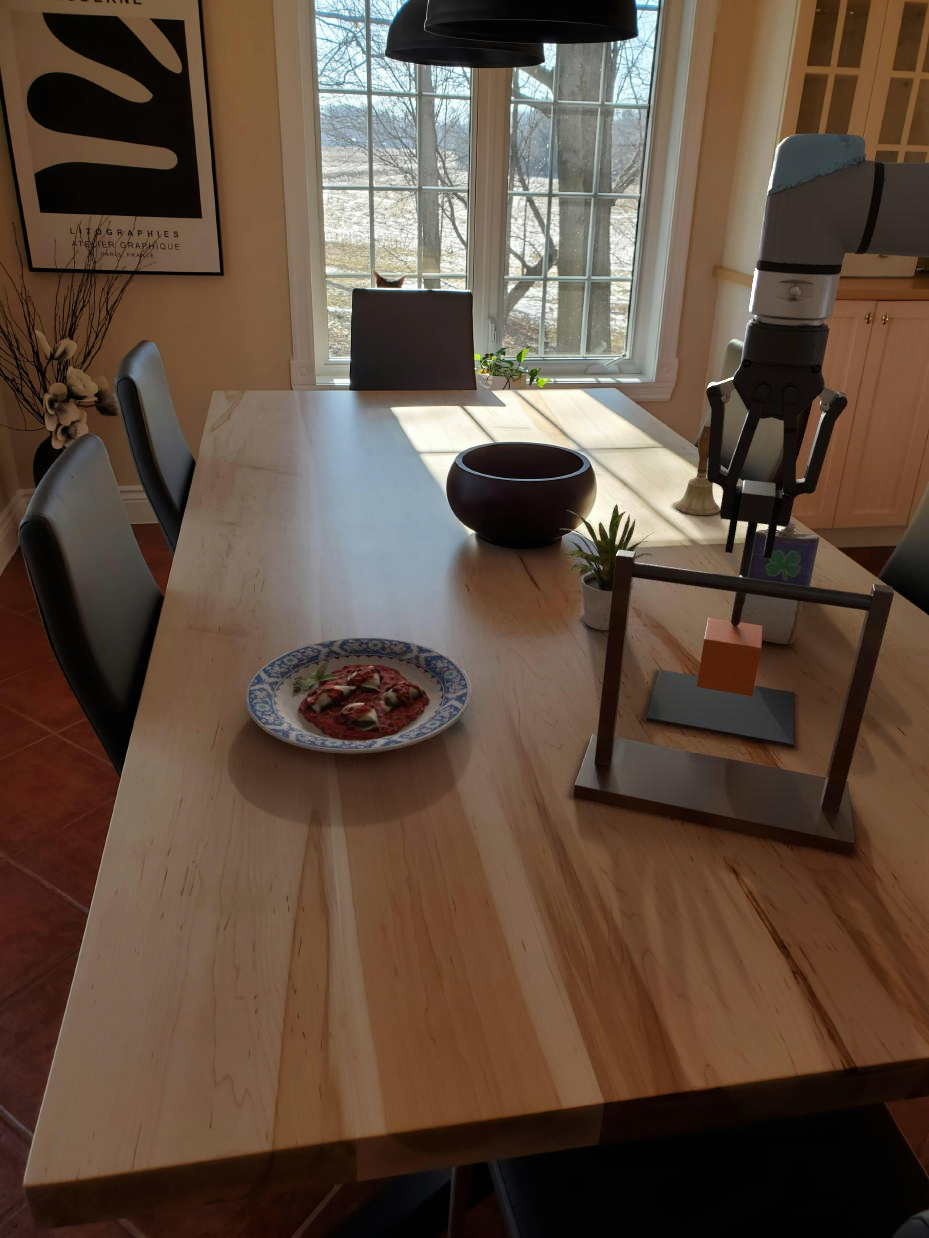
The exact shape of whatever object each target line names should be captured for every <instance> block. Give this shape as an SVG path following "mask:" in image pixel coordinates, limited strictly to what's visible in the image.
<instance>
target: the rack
mask: <svg viewBox="0 0 929 1238" xmlns="http://www.w3.org/2000/svg"><path fill="white" fill-rule="evenodd" d="M636 554H637V552H636V551H633V552H632V551H626V550H619V551H618V553H617V555H616V561H615V571H614V580H613V590H612V599H611V609H610V619H609V628H608V630H607V637H606V647H605V656H604V667H603V675H602V686H601V696H600V705H599V716H598V725H597V733H595V732H593V733H592V735H591V737H590V740H589V742H588V743H589V744H588V746H587V749H586V752H585V754H584V758H583V760H582V762H581V766H580V769H579V771H578V774H577V777H576V779H575V783H574V784H573V785H574V786H573V798H576V799H581V800H586V801H590V802H595V803H596V802H597V803H600V804H605V805H610V806H615V807H619V808H623V809H627V810H628V809H629V810H632V811H633V810H634V811H638V812H642V813H643V812H644V813H647V814H651V815H657V816H662V817H667V818H671V819H676V820H679V821H686V822H691V823H694V824H698V825H699V824H700V825H704V826H709V827H714V828H717V829H718V828H720V829H722V830H727V831H728V830H729V831H732V832H737V833H742V834H746V835H751V836H757V837H761V838H766V839H771V840H775V841H781V842H785V843H789V844H795V845H799V846H804V847H809V848H814V849H817V850H818V849H819V850H823V851H828V852H833V853H837V854H841V855H847V856H852V855H853V851H854V848H855V844H856V842H855V833H854V832H855V831H854V824H853V814H852V813H853V812H852V803H851V795H850V794H851V793H850V785H849V781H848V777H849V773H850V768H851V766H852V761H853V756H854V753H855V750H856V746H857V742H858V738H859V733H860V730H861V726H862V722H863V719H864V718H863V717H864V714H865V710H866V706H867V702H868V698H869V694H870V690H871V687H872V684H873V683H872V682H873V679H874V675H875V670H876V667H877V663H878V659H879V655H880V650H881V647H882V645H883V644H882V643H883V639H884V635H885V632H886V627H887V623H888V620H889V616H890V612H891V608H892V604H893V600H894V596H895V591H894V588H893V586H891V585H884V584H876V583H873V584H872V586H871V589H870V593H863V592H861V593H860V592H853V591H846V590H840V589H839V590H838V589H832V588H825V587H818V586H811V585H810V586H803V585H796V584H789V583H781V582H774V581H767V580H760V579H752V578H745V577H739V575H729V574H724V573H723V574H721V573H716V572H715V573H714V572H710V571H709V572H708V571H700V570H693V569H685V568H679V567H672V566H665V565H658V564H657V565H656V564H651V563H643V562H636V559H635V557H636V556H637V555H636ZM634 579H641V580H648V581H656V582H661V583H669V584H675V585H676V584H677V585H684V586H691V587H697V588H703V589H704V588H705V589H711V590H717V591H724V592H725V591H726V592H734V593H736V592H739V593H746V594H753V595H760V596H767V597H774V598H781V599H788V600H795V601H802V602H803V603H810V604H818V605H823V606H831V607H839V608H844V609H853V610H860V611H865V614H864V619H863V623H862V627H861V631H860V635H859V639H858V642H857V647H856V652H855V655H854V660H853V664H852V668H851V672H850V676H849V679H848V680H849V681H848V684H847V689H846V693H845V697H844V701H843V706H842V710H841V712H840V713H841V714H840V717H839V722H838V726H837V729H836V734H835V737H834V743H833V747H832V750H831V754H830V759H829V764H828V768H827V772H826V775H825V776H821V775H815V774H810V773H805V772H801V771H795V770H790V769H784V768H778V767H774V766H769V765H763V764H760V763H759V764H758V763H753V762H747V761H743V760H737V759H732V758H727V757H722V756H716V755H711V754H706V753H702V752H701V753H700V752H695V751H690V750H684V749H679V748H674V747H669V746H663V745H659V744H653V743H647V742H643V741H638V740H632V739H627V738H623V737H616V730H617V720H618V712H619V711H618V710H619V703H620V694H621V685H622V677H623V668H624V659H625V650H626V642H627V633H628V624H629V616H630V608H631V607H630V606H631V600H632V599H631V598H632V591H633V588H632V582H633V583H634Z"/></svg>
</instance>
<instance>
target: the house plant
mask: <svg viewBox="0 0 929 1238" xmlns="http://www.w3.org/2000/svg"><path fill="white" fill-rule="evenodd" d="M566 511H567V512H569V513H572V514H573V515H575V516H577V517H578V519H580V520H581V521H582V523H583V524H584V525H585V527H586V529H587V532H588V533H589V535H590V537H591V539H592V541H593V542H592V541H591V540H590V539H589V538H587V537H586V535H584V534H583V533H581V532H580V531H578V530H575V529H573V528H560V530H565V531H571V532H575V533H578V534H580V535H581V536H580V535H577V534H574V533H570V535H572V536H577V537H578V538H579V539H580V540H581V541H582V542H583V543H584V544H585V546H586V547H587V549H588V550H589V552H590V553H587V552H585V551H584V550H583V549H582V547H581V546H580V545H579V544H578V543H576V542H575V541H572V540H569V539H567V540H568V541H569V542H570V543H572V544H573V545H574V546H575V548H577V549H574V550H571V551H569V552H568V553H566V554H565V555H566V556H570V557H572V558H573V559H572V558H567V561H575V562H578V563H576V564H574V565H573V566H572V567H571V569H570V571H569V573H571V572H572V571H576V570H579V573H578V575H577V578H580V577H581V576H582V578H581V580H580V581H581V592H582V601H583V603H582V604H583V617H584V622H585V624H586V625H587V626H588V627H590V628H593V629H596V630H599V631H608V628H609V619H610V609H611V599H612V590H613V580H614V571H615V561H616V555H617V553H618V551H619V550H625V551H632V552H634V550H635V549H636V548H638V546H639V545H640V544H642V543H649V541H648V540H645V539H647V538H648V537H649V536H651V535H652V534H654V533H655V531H654V532H652V533H650V534H648V535H647V536H645V537H644V538H643V539H642V540H640V541H639V542H637V543H635V544H632V545H631V546H629V547H628V545H629V544H630V541H631V539H632V537H633V535H634V531H635V526H636V519H634V520H633V521H632V524H631V525H630V523H631V514H630V513H628V515H627V519H626V521H625V524H624V526H623V529H622V533H621V536H620V537H619V538H620V539H619V541H618V544H617V543H616V541H617V536H618V533H619V532H618V531H619V528H620V524H621V521H622V518H623V516H624V515H625V514H626V513H627V511H626V510H625V511H623V512H621V513H619V506H618V503H616V504H615V505H614V506H613V510H612V512H611V517H610V521H609V525H608V526H609V528H608V533H607V530H606V529H605V527H604V525H603V523H602V521H599V523H598V535H599V539H598V538H597V534H596V532H595V529H594V528H593V526H592V524H590V523H589V521H587V520H586V519H585V518H584V517H583V516H581V515H580V514H578V513H576V512H574V511H571V510H568V509H566ZM582 536H583V537H585V538H586V539H587V541H588V542H589V543H590V544H591V545H592V546H593V547H594V549H595V551H596V553H597V555H596V554H594V552H593V550H592V548H591V547H590V545H589V544H588V542H587V541H586V540H585V539H584V538H583V537H582ZM593 543H594V544H593ZM645 556H652V557H655V555H653V554H652V553H640V554H637V555H636V556H635V560H637V559H639V558H641V557H645ZM574 558H580V559H583V560H585V562H586V563H587V564H584V563H582V562H581V561H579V560H578V559H574ZM601 567H602V568H601ZM638 580H639V581H640V578H638ZM632 589H634V581H633V582H632Z"/></svg>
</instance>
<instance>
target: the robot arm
mask: <svg viewBox="0 0 929 1238" xmlns="http://www.w3.org/2000/svg"><path fill="white" fill-rule="evenodd" d="M866 158H867V154H866V140H865V138H864V137H862V136H861V135H857V134H839V133H796V134H791V135H788V136H787V137H785V138H783V140H782V141H780V142H779V143H778V144H777V146H776V148H775V151H774V156H773V161H772V167H771V170H770V171H771V172H770V176H769V177H770V178H769V181H768V187H767V190H766V196H765V203H764V210H763V215H762V216H763V218H762V224H761V231H760V237H759V245H758V252H757V257H756V258H757V261H756V266H755V268H754V270H755V271H754V276H753V282H752V289H751V294H750V295H751V296H750V302H749V310H748V311H749V313H750V314H751V315H753V317H752V318H750V319H749V321H748V322H746V327H745V332H744V340H743V346H742V353H741V358H740V364H739V366H738V367H737V368H736V370H735V372H734V373H733V376H732V377H729V378H727V379H725V380H722V381H715V380H714V381H711V382H710V383H709V384H708V386H707V388H706V391H705V392H706V396H707V400H708V403H709V406H710V407H709V408H710V411H711V412H710V424H709V425H710V440H709V455H708V460H707V472H706V478H707V480H708V481H709V482H710V483H713V484H715V485H717V486H719V487H720V488H721V489H722V496H721V503H720V507H719V509H720V510H719V518H720V520H726V521H729V524H728V525H729V526H728V532H727V538H726V544H725V549H724V553H728V554H733V551H734V546H735V539H736V534H737V527H738V522H739V521H738V515H739V509H740V503H741V497H742V491H743V485H738V482H739V480H740V477H741V474H742V472H743V468H744V465H745V462H746V460H747V457H748V455H749V454H748V453H749V451H750V448H751V445H752V442H753V439H754V437H755V433H756V431H757V428H758V425H759V423H760V420H761V419H762V420H764V419H775V420H778V421H782V422H783V436H782V437H783V439H782V440H783V445H782V447H783V448H782V449H783V450H782V451H783V453H782V457H783V458H782V490H780V489H779V490H778V489H776V490H775V501H774V507H773V512H772V518H771V523H770V525H767V529H768V530H767V529H766V530H767V536H766V541H765V547H764V558H771V556H772V551H773V545H774V540H775V535H776V532H777V531H776V530H778V527H784V528H786V527H787V526H788V524H789V523H790V522H791V518H792V517H791V516H792V512H793V508H794V507H793V506H794V502H795V499H796V498H797V497H798V496H800V495H804V494H806V495H811V494H813V493H815V491H816V490H817V486H818V482H819V479H820V475H821V472H822V468H823V466H824V463H825V458H826V455H827V451H828V449H829V445H830V441H831V438H832V434H833V432H834V428H835V425H836V421H837V420H838V419H839V417H840V416H841V414H842V413H843V411H844V410H845V409H846V407H848V402H849V401H848V398H847V395H846V394H845V393H844V391H843V392H842V391H836V390H834V389H832V388H831V387H828V385H825V384H826V383H825V378H824V376H823V366H824V360H825V355H826V350H827V345H828V340H829V335H830V330H831V328H829V325H828V324H827V323H825V320H829V319H830V318H832V317H833V314H834V309H835V305H836V298H837V292H838V288H839V282H840V277H841V272H842V267H843V262H844V258H845V256H846V254H854V255H865V254H866V255H867V254H868V255H879V256H893V257H894V256H895V257H910V258H911V257H913V258H929V162H882V161H875V160H868V159H866ZM734 390H735V391H736V393H737V394H738V396H739V398H740V400H741V402H742V403H743V405H744V407H745V409H746V411H747V413H746V416H745V419H744V422H743V425H742V427H741V431H740V434H739V437H738V440H737V443H736V446H735V449H734V452H733V454H732V457H731V461H730V464H729V466H728V470H727V471H726V470H723V469H722V459H723V443H724V432H725V431H724V430H725V417H726V416H725V415H726V404H727V403H729V402H730V400H731V396H732V392H733V391H734ZM818 397H819V398H820V402H819V410H820V411H821V412H822V413H821V415H820V419H819V422H818V425H817V429H816V432H815V436H814V439H813V442H812V446H811V450H810V453H809V457H808V461H807V464H806V467H805V471H804V474H803V477H801V478H798V479H797V433H798V432H797V430H798V429H797V428H798V423H797V422H798V416H800V415H801V413H803V411H804V410H805V409H806V408H808V406H809V405H811V404H812V403H813V402H814V400H815V399H817V398H818Z"/></svg>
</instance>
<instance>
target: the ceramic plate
mask: <svg viewBox="0 0 929 1238" xmlns="http://www.w3.org/2000/svg"><path fill="white" fill-rule="evenodd" d="M472 692H473V688H472V683H471V680H470V678H469V676H468V674H467V673H466V671H465V669H463V667H462V666H460V664H458V663H457V662H456V661H455V660H454V659H452V658H451V657H449V656H448V655H446V654H444V653H442V652H440V651H438V650H436V649H434V648H431V647H428V646H426V645H421V644H419V643H415V642H412V641H407V640H401V639H395V638H386V637H374V636H373V637H371V636H370V637H369V636H367V637H365V636H363V637H362V636H361V637H345V638H335V639H330V640H324V641H320V642H315V643H311V644H308V645H304V646H301V647H298V648H296V649H293V650H290V651H288V652H286V653H282V654H281V655H280V656H278V657H276V658H275V659H273V660H271V661H270V662H268V663H267V664H265V665H264V666H263V667H262V668H260V669H259V670H258V671H257V672H256V673H255V675H254V676H253V677H252V679H251V680H250V682H249V684H248V685H247V688H246V690H245V706H246V709H247V712H248V714H249V716H250V717H251V720H252V721H254V723H255V724H256V725H257V726H258V728H260V729H262V730H263V731H264V732H265V733H267V734H269V735H270V736H271V737H274V738H275V739H277V740H279V741H281V742H284V743H287V744H289V745H292V746H295V747H298V748H303V749H305V750H306V749H307V750H311V751H316V752H323V753H331V754H347V755H349V754H350V755H351V754H352V755H355V754H357V755H358V754H372V753H381V752H387V751H393V750H398V749H402V748H405V747H410V746H413V745H416V744H418V743H422V742H424V741H427V740H430V739H432V738H434V737H436V736H438V735H440V734H441V733H444V731H446V730H448V729H449V728H451V727H452V726H453V725H455V723H457V722H458V721H459V720H460V719H461V718H462V716H463V715H464V714H465V713H466V711H467V710H468V708H469V706H470V703H471V699H472V696H473V693H472Z"/></svg>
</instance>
